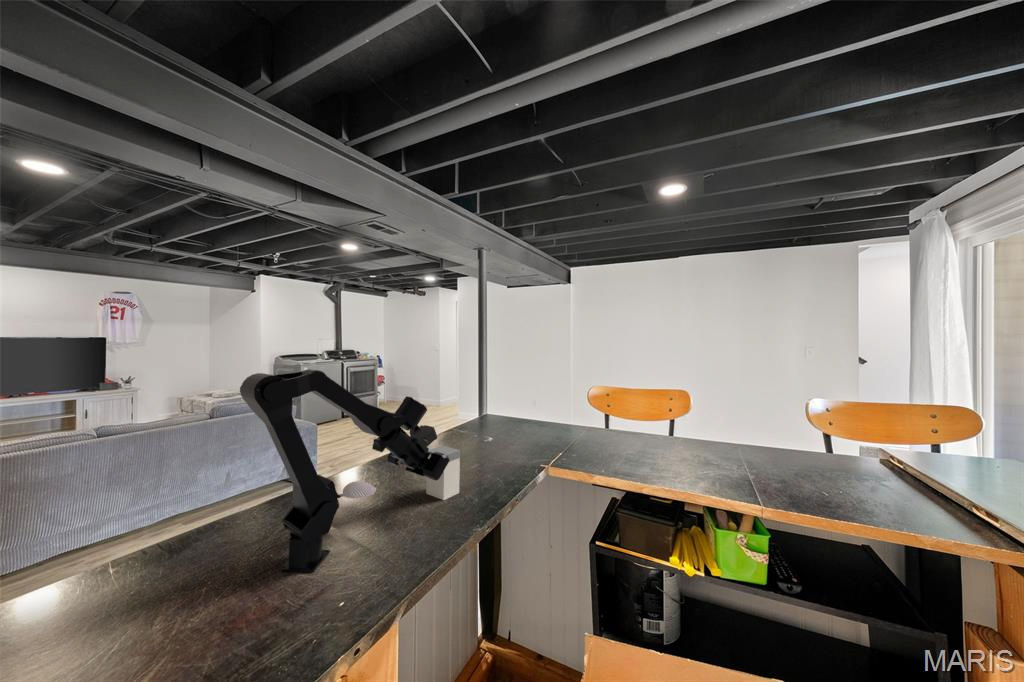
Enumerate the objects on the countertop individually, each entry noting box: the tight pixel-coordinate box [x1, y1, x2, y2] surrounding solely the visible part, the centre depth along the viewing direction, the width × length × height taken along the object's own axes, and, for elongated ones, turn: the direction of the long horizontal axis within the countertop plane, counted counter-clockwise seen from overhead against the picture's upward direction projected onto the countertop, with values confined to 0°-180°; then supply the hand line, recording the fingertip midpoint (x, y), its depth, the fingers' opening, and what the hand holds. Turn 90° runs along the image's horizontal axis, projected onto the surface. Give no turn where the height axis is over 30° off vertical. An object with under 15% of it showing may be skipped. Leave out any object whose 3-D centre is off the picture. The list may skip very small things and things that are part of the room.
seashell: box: [342, 480, 377, 500], centre depth 103 cm, size 10×6×10 cm
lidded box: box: [425, 445, 461, 501], centre depth 102 cm, size 6×7×12 cm
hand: (434, 475), depth 100 cm, fingers closed, pressing on lidded box
